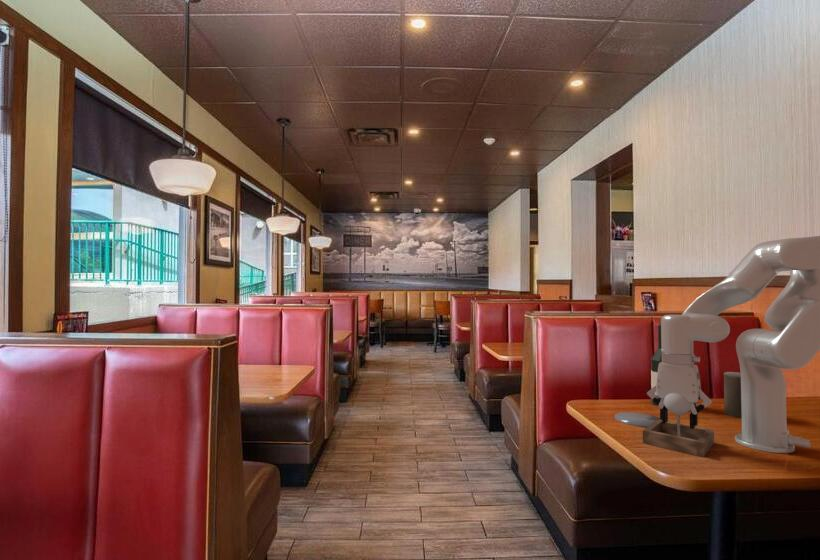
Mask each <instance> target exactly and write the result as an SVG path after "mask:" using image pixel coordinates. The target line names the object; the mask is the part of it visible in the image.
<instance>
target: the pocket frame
mask: <svg viewBox="0 0 820 560" xmlns="http://www.w3.org/2000/svg"><path fill="white" fill-rule="evenodd" d="M714 443H715V430H714V429H709V428H705V427H698V426H695V428H694V429H691V428H690V424H689V425H688V424H683V423H680V436H677V422H672V421H668V422H667V423H665V424H663V423H662V420H658V419H657V420H656V421H654V422H653V423H652V424H650V425H649V426H648V427H644V429H643V430H642V444H645V445H650V446H654V447H658V448H663V449H666V450H670V451H674V452H675V451H676V452H680V453H684V454H688V455H692V456H698V457H701V458H704V457H705V456H706V455H707V453H708V452H709V450H710V449H711V448H712V446H713V445H714Z"/></svg>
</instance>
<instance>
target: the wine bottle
mask: <svg viewBox="0 0 820 560" xmlns="http://www.w3.org/2000/svg"><path fill="white" fill-rule="evenodd" d="M660 362H662V347H661V322H659V323H658V325H657V349H656V351H655V352H654V353H653V355H652V357H651V358H650V371H651V372H650V376H651V377H650V378H651V380H650V385H651V386H650V387H651V389H652V388H653V387H654V386H656V382H657V372H658V367H659V363H660ZM651 389H650V390H651ZM655 395H656V396H657V394H656V392H655ZM657 397H658V396H657ZM658 398H659V397H658ZM659 399H660V400H661V398H659ZM651 404H652V405H653V406H656V407H658V405H657V404H656V403H655V402H654V401H653V400H652V399H651Z"/></svg>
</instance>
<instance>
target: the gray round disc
mask: <svg viewBox="0 0 820 560" xmlns="http://www.w3.org/2000/svg"><path fill="white" fill-rule="evenodd" d="M614 419H615V420H616V421H617V422H620V423H623V424H625V425H629V426H633V427H639V428H647V427H648V426H649V425H650V424H652V423H653V422H654V421H656V420H657V419H658V420H662V419H660V417H658V416H655V415H653V414H647V413H640V412H632V411H631V412H629V411H628V412H626V411H625V412H618V413H616V414H615V415H614Z"/></svg>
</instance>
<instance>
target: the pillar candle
mask: <svg viewBox="0 0 820 560" xmlns="http://www.w3.org/2000/svg"><path fill="white" fill-rule="evenodd" d="M723 396H724V397H723V398H724V399H723V402H724V403H723V412H724V414H726V415H727V416H729V417H734V418H738V419H742V412H741V372H739V371H737V372H735V371H726V372H723Z"/></svg>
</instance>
